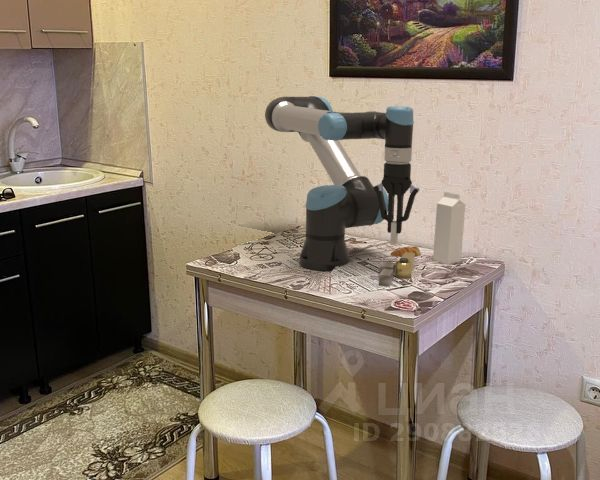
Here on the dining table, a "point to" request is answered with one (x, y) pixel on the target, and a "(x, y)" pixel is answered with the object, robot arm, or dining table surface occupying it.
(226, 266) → the dining table surface
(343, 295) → the dining table surface
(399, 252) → the pastry
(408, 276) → the latch bar
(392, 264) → the board
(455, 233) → the milk
